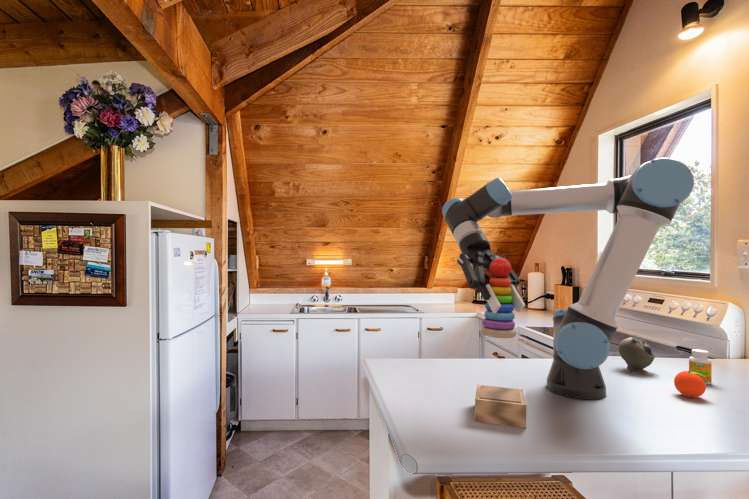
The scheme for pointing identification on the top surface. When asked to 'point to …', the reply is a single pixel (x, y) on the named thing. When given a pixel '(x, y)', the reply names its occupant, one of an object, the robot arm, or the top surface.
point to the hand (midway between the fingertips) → (509, 309)
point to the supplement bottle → (701, 364)
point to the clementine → (690, 384)
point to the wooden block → (500, 406)
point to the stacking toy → (503, 318)
